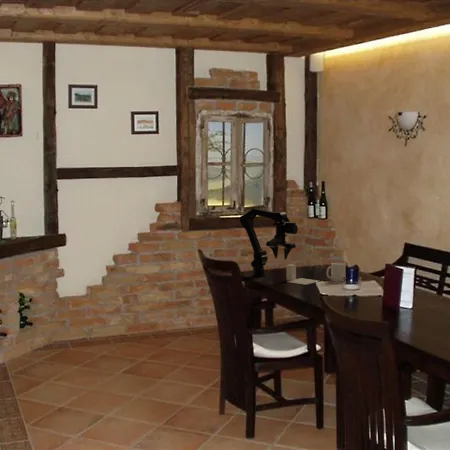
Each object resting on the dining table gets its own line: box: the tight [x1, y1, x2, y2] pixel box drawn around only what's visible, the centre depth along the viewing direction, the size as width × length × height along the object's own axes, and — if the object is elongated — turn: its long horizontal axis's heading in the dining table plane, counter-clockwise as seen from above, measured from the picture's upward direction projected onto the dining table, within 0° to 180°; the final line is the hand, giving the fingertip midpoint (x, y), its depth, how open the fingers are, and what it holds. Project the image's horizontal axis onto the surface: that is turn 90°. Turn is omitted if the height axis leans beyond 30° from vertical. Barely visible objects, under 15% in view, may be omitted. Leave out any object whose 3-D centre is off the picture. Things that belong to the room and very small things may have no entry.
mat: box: [286, 277, 319, 286], centre depth 416 cm, size 14×14×1 cm
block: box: [286, 264, 297, 281], centre depth 422 cm, size 4×4×9 cm
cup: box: [326, 262, 346, 283], centre depth 417 cm, size 8×12×10 cm
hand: (280, 258), depth 426 cm, fingers open, 7 cm apart
